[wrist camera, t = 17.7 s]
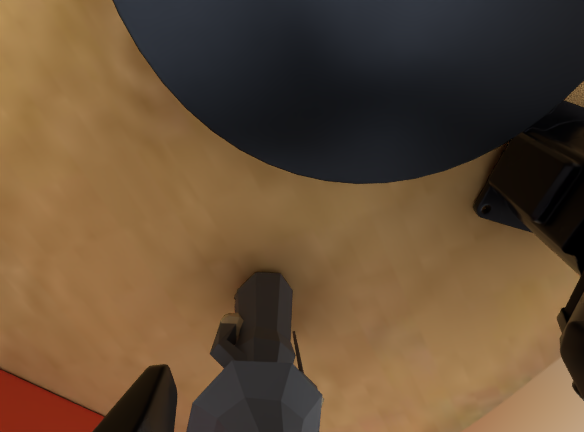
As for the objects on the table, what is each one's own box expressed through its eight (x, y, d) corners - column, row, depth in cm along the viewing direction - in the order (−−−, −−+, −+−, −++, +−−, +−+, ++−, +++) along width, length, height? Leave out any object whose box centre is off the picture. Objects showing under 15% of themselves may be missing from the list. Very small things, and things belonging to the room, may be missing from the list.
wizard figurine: (194, 304, 24) (137, 544, 14) (242, 235, 22) (217, 455, 12) (311, 355, 27) (337, 592, 16) (363, 297, 25) (433, 526, 14)
